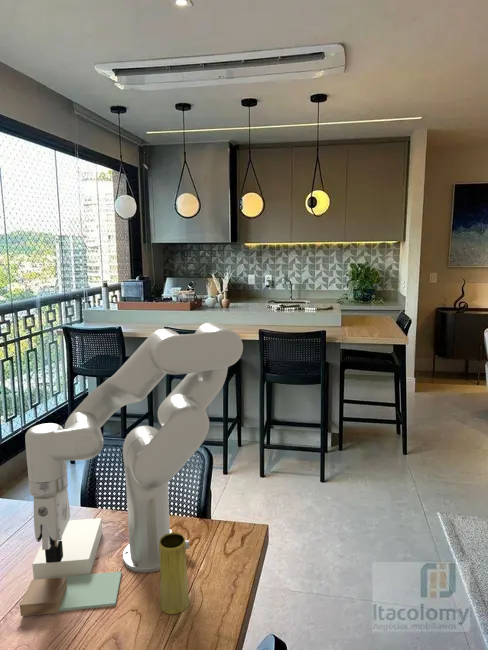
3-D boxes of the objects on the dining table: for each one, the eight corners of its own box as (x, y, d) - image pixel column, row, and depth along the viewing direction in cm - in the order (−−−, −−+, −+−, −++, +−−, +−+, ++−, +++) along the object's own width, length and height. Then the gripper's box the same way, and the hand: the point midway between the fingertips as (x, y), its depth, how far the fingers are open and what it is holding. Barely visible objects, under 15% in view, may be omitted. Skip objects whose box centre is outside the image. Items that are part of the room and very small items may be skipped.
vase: (164, 591, 98) (162, 530, 96) (192, 593, 98) (190, 532, 95) (155, 613, 92) (152, 548, 90) (185, 616, 92) (183, 551, 89)
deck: (102, 532, 119) (101, 518, 118) (89, 575, 103) (88, 559, 103) (53, 536, 117) (52, 521, 117) (33, 580, 102) (32, 564, 101)
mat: (121, 573, 104) (121, 571, 104) (115, 605, 94) (115, 603, 94) (47, 580, 102) (47, 578, 102) (33, 614, 92) (33, 611, 92)
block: (56, 601, 91) (57, 612, 92) (66, 577, 98) (66, 587, 99) (19, 604, 91) (20, 616, 91) (31, 579, 98) (32, 590, 98)
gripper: (57, 499, 91) (63, 582, 94) (75, 465, 106) (80, 537, 109) (17, 502, 90) (25, 586, 93) (41, 467, 105) (47, 540, 108)
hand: (54, 559), depth 101 cm, fingers closed
